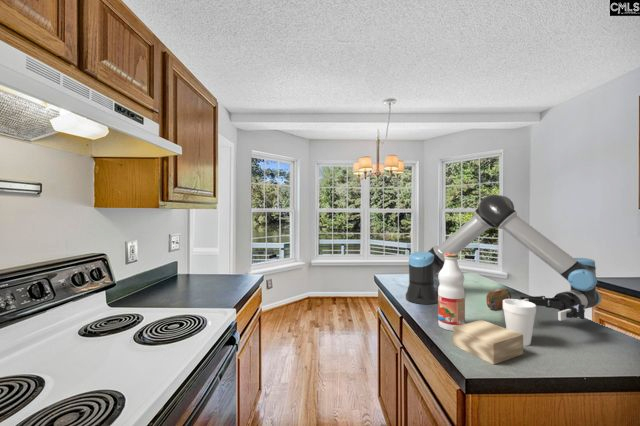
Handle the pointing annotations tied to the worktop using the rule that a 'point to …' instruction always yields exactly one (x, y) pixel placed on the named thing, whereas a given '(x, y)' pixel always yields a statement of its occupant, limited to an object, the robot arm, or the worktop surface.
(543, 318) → the worktop surface
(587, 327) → the worktop surface
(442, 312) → the fruit juice
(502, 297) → the tin
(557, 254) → the robot arm
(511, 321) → the foam cup
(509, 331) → the maple block
